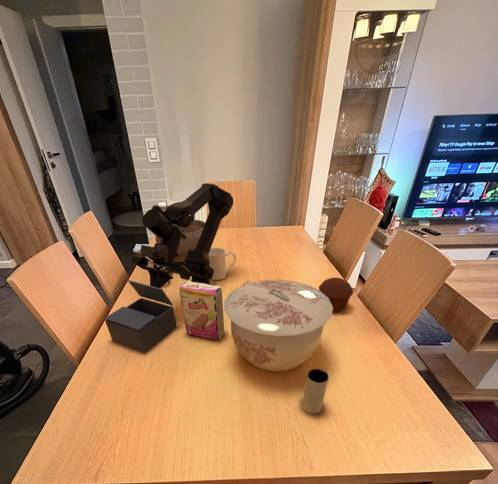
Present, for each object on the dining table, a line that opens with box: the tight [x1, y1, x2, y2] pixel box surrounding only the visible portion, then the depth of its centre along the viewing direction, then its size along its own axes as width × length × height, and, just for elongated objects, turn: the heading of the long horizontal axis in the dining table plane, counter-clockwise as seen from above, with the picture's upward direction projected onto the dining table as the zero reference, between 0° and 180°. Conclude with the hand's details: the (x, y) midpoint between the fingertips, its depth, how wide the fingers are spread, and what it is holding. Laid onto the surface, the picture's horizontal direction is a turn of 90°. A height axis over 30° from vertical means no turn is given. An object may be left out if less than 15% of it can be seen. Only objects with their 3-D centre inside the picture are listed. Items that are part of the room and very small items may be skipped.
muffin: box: [318, 277, 354, 314], centre depth 103 cm, size 12×11×10 cm
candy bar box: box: [178, 280, 225, 342], centre depth 89 cm, size 11×5×16 cm, turn 71°
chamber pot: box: [223, 279, 333, 372], centre depth 80 cm, size 28×28×21 cm
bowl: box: [154, 219, 206, 263], centre depth 135 cm, size 24×24×15 cm
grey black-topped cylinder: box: [301, 368, 330, 415], centre depth 68 cm, size 4×4×10 cm
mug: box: [209, 247, 237, 281], centre depth 123 cm, size 12×8×10 cm, turn 98°
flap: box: [127, 279, 173, 306], centre depth 91 cm, size 7×13×1 cm
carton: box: [103, 297, 178, 354], centre depth 92 cm, size 15×13×8 cm
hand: (152, 293), depth 92 cm, fingers closed, pressing on flap
